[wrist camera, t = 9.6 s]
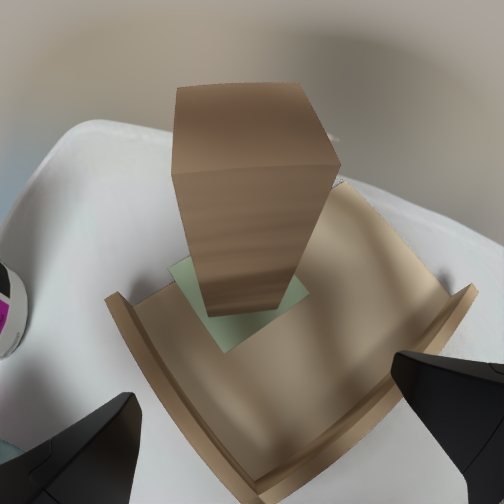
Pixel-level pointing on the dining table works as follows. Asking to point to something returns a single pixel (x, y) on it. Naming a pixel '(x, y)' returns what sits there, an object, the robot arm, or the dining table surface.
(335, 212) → the tray
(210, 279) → the walnut block
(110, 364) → the dining table surface
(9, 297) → the supplement can
